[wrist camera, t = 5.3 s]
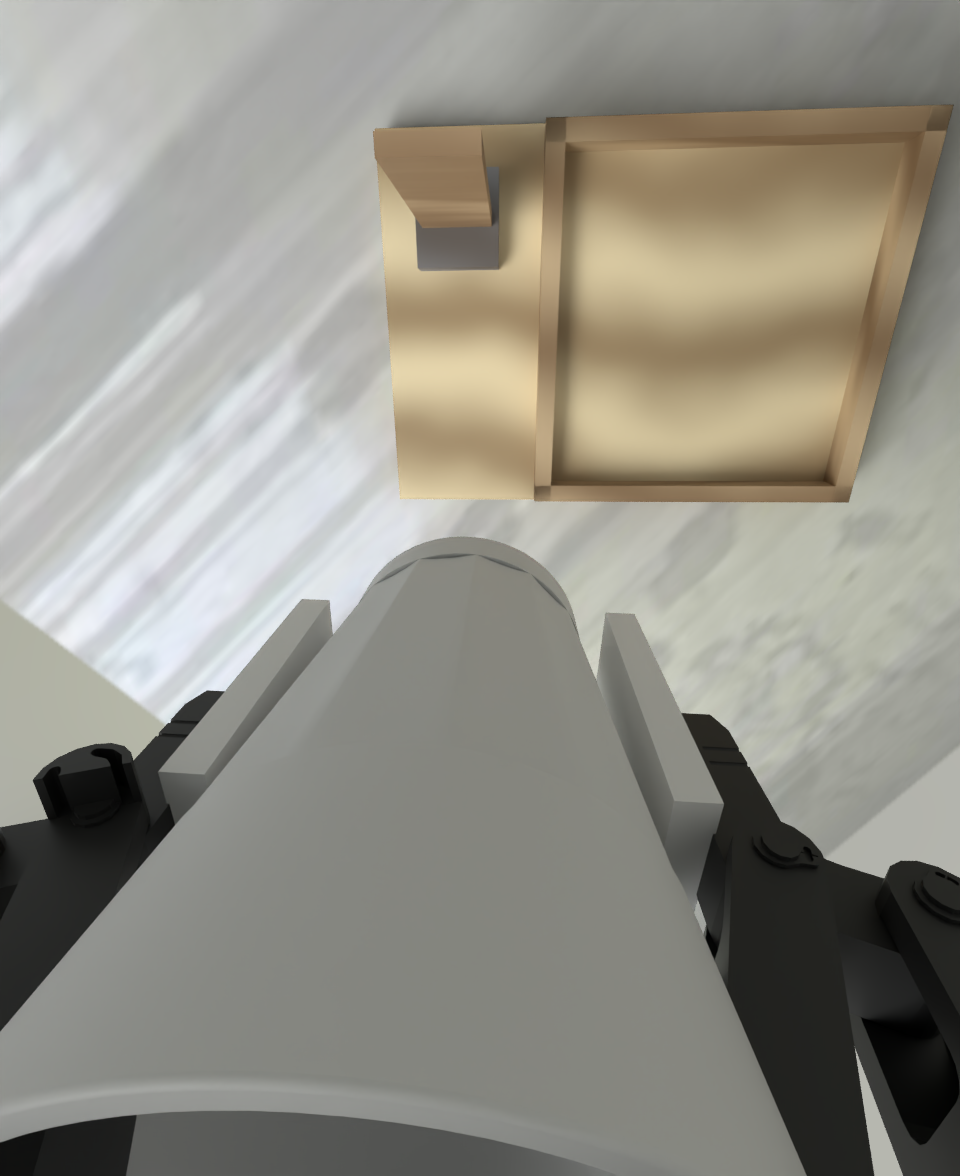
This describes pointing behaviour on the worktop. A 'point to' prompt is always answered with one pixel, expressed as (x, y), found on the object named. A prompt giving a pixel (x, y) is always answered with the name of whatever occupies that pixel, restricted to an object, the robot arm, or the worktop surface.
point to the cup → (410, 930)
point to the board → (648, 300)
